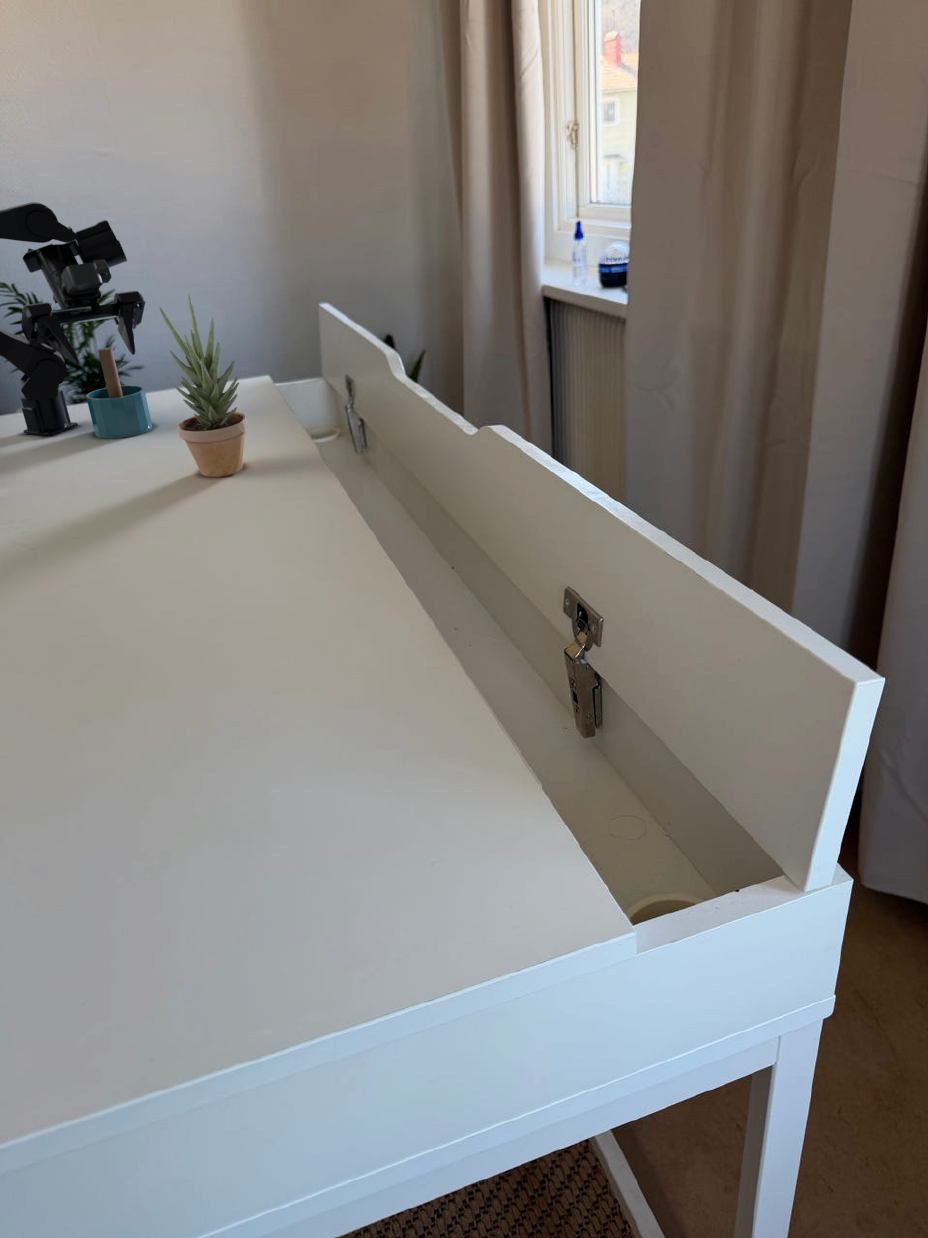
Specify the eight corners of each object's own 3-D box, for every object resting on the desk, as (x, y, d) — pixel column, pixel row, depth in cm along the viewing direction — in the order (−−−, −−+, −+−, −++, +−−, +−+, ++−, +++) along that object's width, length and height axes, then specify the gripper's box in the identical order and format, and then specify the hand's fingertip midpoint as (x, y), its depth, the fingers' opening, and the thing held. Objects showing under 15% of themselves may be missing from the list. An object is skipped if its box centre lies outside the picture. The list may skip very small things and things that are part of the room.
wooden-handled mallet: (107, 427, 159) (88, 349, 153) (130, 422, 161) (112, 345, 155) (115, 432, 156) (96, 352, 150) (139, 427, 158) (121, 348, 152)
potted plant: (173, 478, 134) (134, 297, 122) (213, 458, 141) (180, 285, 130) (232, 483, 130) (198, 297, 119) (269, 462, 138) (241, 285, 126)
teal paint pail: (123, 421, 164) (114, 383, 161) (163, 424, 161) (155, 386, 158) (83, 436, 157) (74, 397, 154) (125, 440, 153) (116, 400, 150)
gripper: (7, 249, 141) (49, 333, 138) (128, 237, 151) (169, 315, 148) (5, 299, 150) (45, 380, 147) (120, 285, 160) (159, 360, 157)
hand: (106, 357), depth 150 cm, fingers open, 9 cm apart
